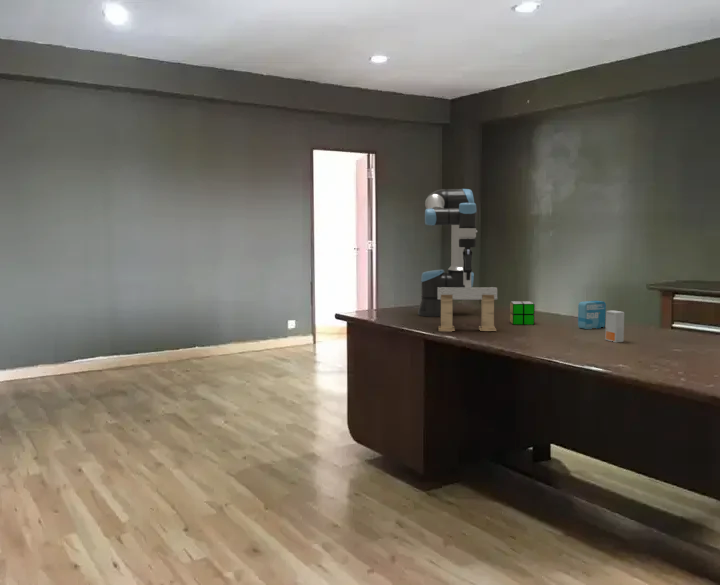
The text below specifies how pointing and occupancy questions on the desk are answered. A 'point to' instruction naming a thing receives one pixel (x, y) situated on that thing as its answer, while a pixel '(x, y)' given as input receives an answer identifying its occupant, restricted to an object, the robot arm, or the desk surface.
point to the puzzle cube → (522, 312)
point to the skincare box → (614, 326)
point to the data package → (591, 314)
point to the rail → (467, 292)
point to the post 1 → (446, 313)
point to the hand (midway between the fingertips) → (467, 286)
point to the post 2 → (487, 313)
